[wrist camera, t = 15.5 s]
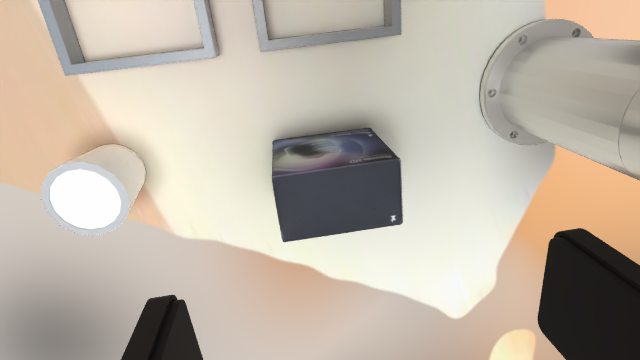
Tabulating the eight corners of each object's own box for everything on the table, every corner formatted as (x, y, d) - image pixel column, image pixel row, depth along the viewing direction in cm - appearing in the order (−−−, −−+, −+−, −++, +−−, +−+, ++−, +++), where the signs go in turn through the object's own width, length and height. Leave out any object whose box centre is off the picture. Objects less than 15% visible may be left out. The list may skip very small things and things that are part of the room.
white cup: (64, 169, 38) (21, 199, 31) (110, 123, 36) (76, 144, 30) (121, 214, 40) (93, 250, 34) (167, 172, 39) (146, 202, 32)
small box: (371, 123, 40) (404, 155, 30) (375, 180, 42) (406, 227, 32) (270, 137, 39) (270, 175, 29) (280, 194, 41) (282, 247, 32)
